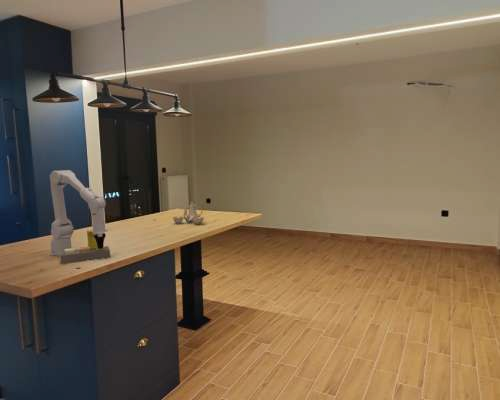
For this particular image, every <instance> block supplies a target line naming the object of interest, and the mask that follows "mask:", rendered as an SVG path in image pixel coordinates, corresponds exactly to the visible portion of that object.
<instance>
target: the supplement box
mask: <svg viewBox="0 0 500 400" xmlns="http://www.w3.org/2000/svg"><path fill="white" fill-rule="evenodd" d="M86 234H87V247H89V246H90V248H96V247H98V246H97V242H96V240H95V238H94V236H93V235H97V234H95V233H93V229H89V230H87V231H86ZM103 247H105V246H104V244H103Z"/></svg>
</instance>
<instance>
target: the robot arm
mask: <svg viewBox="0 0 500 400" xmlns="http://www.w3.org/2000/svg"><path fill="white" fill-rule="evenodd" d="M49 181H50V193H51V199H52V205H53V211H54V219H55V220H54V221H53V222H51V228H50V234H51V236H52V237H53V238H51V239H50V243H49V244H50V253H51V254H50V256H59V257H60V255H61V251H65V249H71V248H72V247H73V246H72V235H73V234H74V232H75V230H74V229H75V228H74V226H73V223H72V221H71V220H70V219H69V218H68V216H67V209H66V204H65V203H66V202H65V196H64V194H65V193H64V188H65V187H66V186H67V185H70V186H71V187H72V188H74V189H75V190H76V191H77V192H79V196H80V197H81V198H82V199H83V200H84V201H85V202H86V203H87V207H88V209H89V210H90V213H91V222H92V223H91V225H92V230H93V233H95V234H97V235H93V236H94V238H95V240H96V242H97V246H98V249H103V245H104V242H105V239H106V232H108V231H109V230H108V229H106V223H105V208H106V206H107V201H106V199H105V198H104V197H102V196H99V195H98V194H96V193H95V192H94V191H93V189H92V188H91V187H85V186H84V185H83V183H82V182H81V181H80V180H79V179H78V178H77V177H76V174H75V173H74V172H73V171H72V170H70V169H66V170H64V169H63V170H53V171H52V172H51V173H50V174H49Z"/></svg>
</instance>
